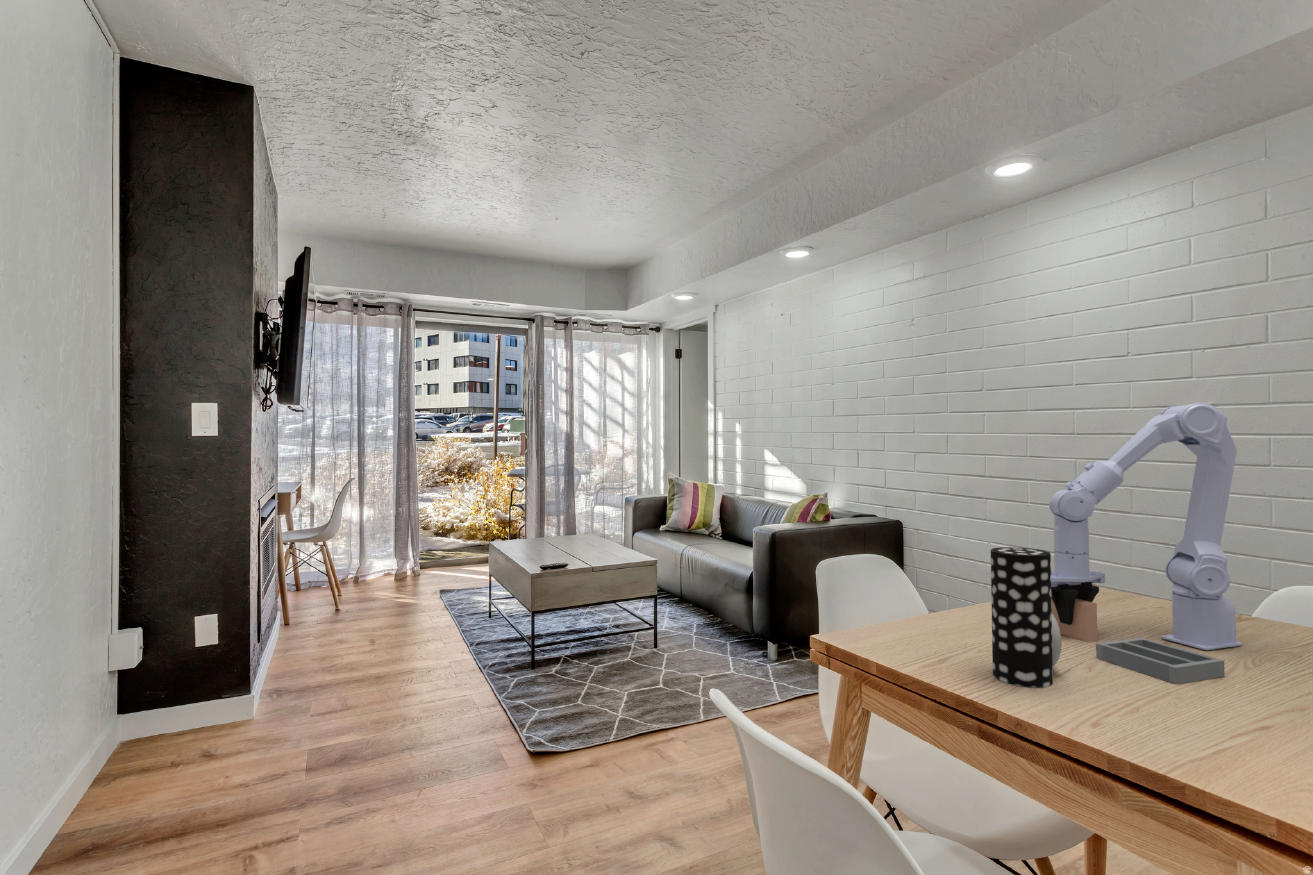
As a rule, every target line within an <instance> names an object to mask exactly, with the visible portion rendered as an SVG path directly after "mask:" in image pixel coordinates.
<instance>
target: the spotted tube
mask: <svg viewBox="0 0 1313 875" xmlns="http://www.w3.org/2000/svg"><path fill="white" fill-rule="evenodd" d="M1051 555H1052V554H1051V552H1050V551H1046V550H1043V549H1036V548H1030V547H1029V548H1028V547H1015V546H1013V547H1011V546H1009V547H1007V546H1006V547H1005V546H1003V547H993V548H991V549H990V582H991V584H990V589H991V592H990V593H991V595H990V596H991V645H992V646H991V650H992V651H991V652H992V654H991V656H992V660H991V661H992V676H993V677H994V678H995V679H996V680H999V681H1001V682H1004V683H1006V684H1010V685H1013V686H1018V687H1024V688H1038V689H1039V688H1047V687H1050V686H1052V685H1053V683H1054V672H1053V671H1054V669H1053V667H1054V666H1053V657H1052V600H1051V571H1052V556H1051Z"/></svg>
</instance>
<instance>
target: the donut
mask: <svg viewBox="0 0 1313 875" xmlns="http://www.w3.org/2000/svg"><path fill="white" fill-rule="evenodd" d="M1061 635H1062V634H1060V629H1059V626H1058V623H1057V621H1056V619H1055V617H1054V615H1053V614H1052V657H1053V667H1054V666H1055V665H1056V664H1057V663H1058V661H1059V660H1060V656H1061V653H1062V636H1061Z"/></svg>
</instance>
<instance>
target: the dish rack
mask: <svg viewBox="0 0 1313 875" xmlns="http://www.w3.org/2000/svg"><path fill="white" fill-rule="evenodd" d="M1095 652H1096V653H1095V654H1096V655H1095V658H1096V659H1098V660H1102V661H1105V662H1108V663H1111V664H1113V665H1116V666H1120V667H1122V668H1125V669H1128V670H1131V671H1135V672H1138V673H1140V674H1144V675H1147V676H1150V677H1152V678H1153V677H1154V678H1156V679H1159V680H1162V681H1166V682H1169V683H1171V684H1173V685H1180V684H1185V683H1186V684H1187V683H1191V682H1197V681H1205V680H1210V679H1216V678H1217V679H1218V678H1223V677H1225V660H1223V659H1220V658H1217V657H1212V656H1209V655H1205V654H1202V653H1198V652H1195V651H1192V650H1189V649H1184V648H1180V647H1176V646H1174V645H1169V644H1167V643H1162V642H1158V641H1155V640H1151V639H1148V638H1144V637H1136V638H1129V639H1120V640H1113V641H1106V642H1098V643H1095Z"/></svg>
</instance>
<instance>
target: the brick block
mask: <svg viewBox="0 0 1313 875" xmlns="http://www.w3.org/2000/svg"><path fill="white" fill-rule="evenodd" d="M1051 600H1052V598H1051ZM1097 607H1098V606H1097V603H1096V602H1094V601H1093V602H1089V601H1084V600H1080V599H1076V600H1075V603H1074V611H1073V622H1072V625H1068V624H1064V623H1061V622H1060V620H1059V617H1058V613H1057V610H1056V607H1055V604H1054V602H1053V600H1052V614H1053V615H1054V617H1055V619H1056V621H1057V623H1058V626H1059V629H1060V634H1061V635H1063V636H1066V637H1070V638H1073V639H1076V640H1080V641H1083V642H1087V643H1089V642H1097V641H1098V608H1097Z"/></svg>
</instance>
